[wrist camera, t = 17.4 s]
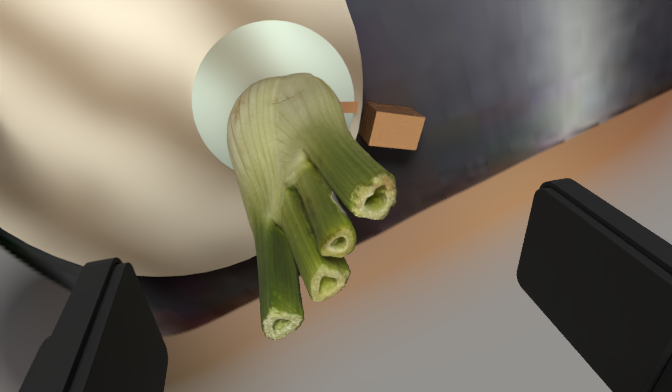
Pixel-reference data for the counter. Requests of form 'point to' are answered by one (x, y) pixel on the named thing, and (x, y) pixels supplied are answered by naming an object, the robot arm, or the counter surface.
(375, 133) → the wooden block
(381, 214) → the fennel bulb
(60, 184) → the serving platter
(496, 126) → the counter surface
